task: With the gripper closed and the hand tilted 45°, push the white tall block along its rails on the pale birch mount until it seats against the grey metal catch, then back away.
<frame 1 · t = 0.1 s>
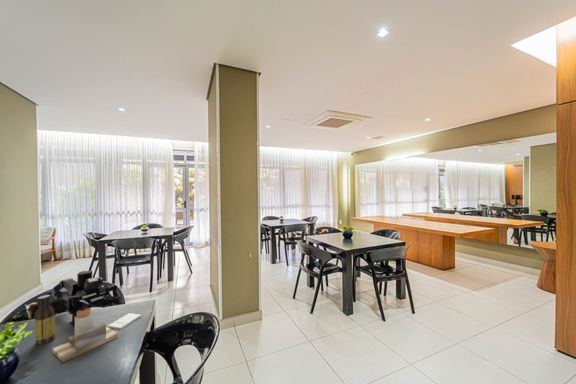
hand: (101, 301, 108), 17 cm above the table, tool horizontal, fingers open, 9 cm apart
white tall block: (83, 324, 105), point 8 cm above the table, slide at 3.8 cm
external hard drive: (124, 323, 121), on the table
mount: (86, 344, 103), on the table
sauce bottle: (45, 340, 105), on the table
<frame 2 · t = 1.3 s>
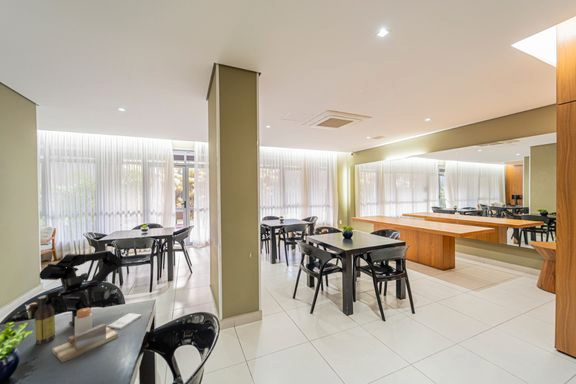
hand: (78, 307, 108), 14 cm above the table, tool tilted 45°, fingers open, 8 cm apart
nothing on the table moved.
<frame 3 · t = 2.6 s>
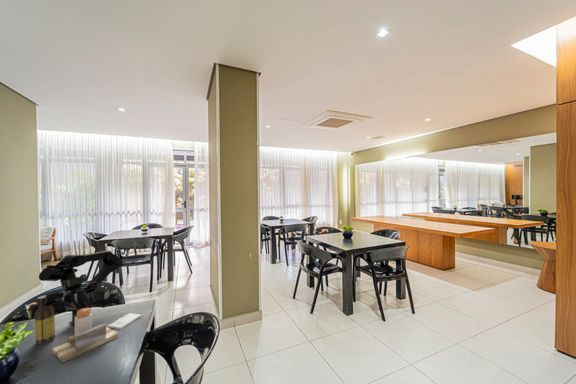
hand: (77, 308, 108), 13 cm above the table, tool tilted 45°, fingers closed
nothing on the table moved.
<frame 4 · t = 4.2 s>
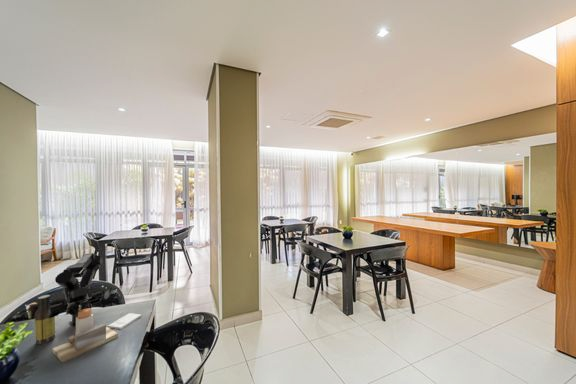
hand: (81, 320, 105), 9 cm above the table, tool tilted 45°, fingers closed, pressing on white tall block
white tall block: (84, 324, 104), point 8 cm above the table, slide at 2.5 cm, touching gripper
everything else where it was.
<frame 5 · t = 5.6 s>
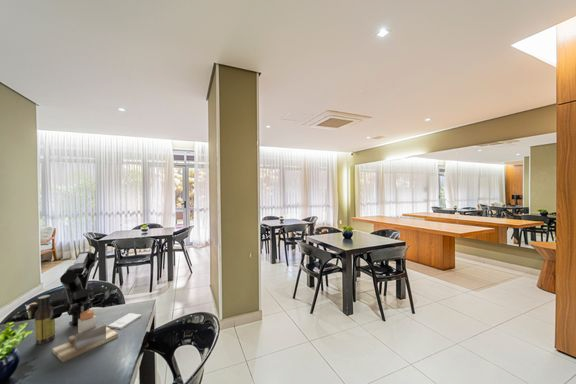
hand: (84, 321, 104), 9 cm above the table, tool tilted 45°, fingers closed
white tall block: (87, 326, 103), point 8 cm above the table, slide at 0.0 cm
everything else where it was.
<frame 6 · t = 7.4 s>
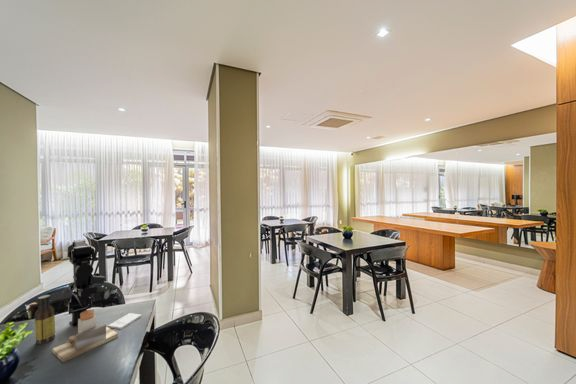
hand: (83, 306, 110), 13 cm above the table, tool pointing down, fingers closed
nothing on the table moved.
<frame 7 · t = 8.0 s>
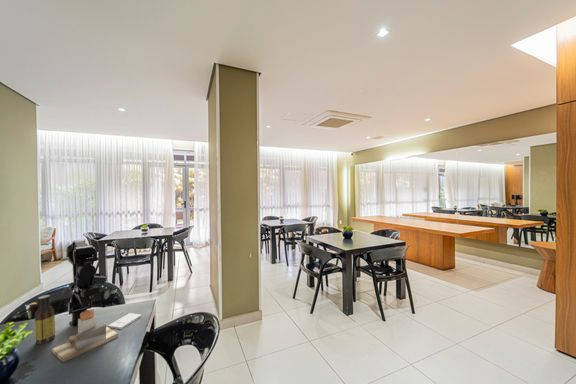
hand: (84, 306, 110), 13 cm above the table, tool pointing down, fingers closed
nothing on the table moved.
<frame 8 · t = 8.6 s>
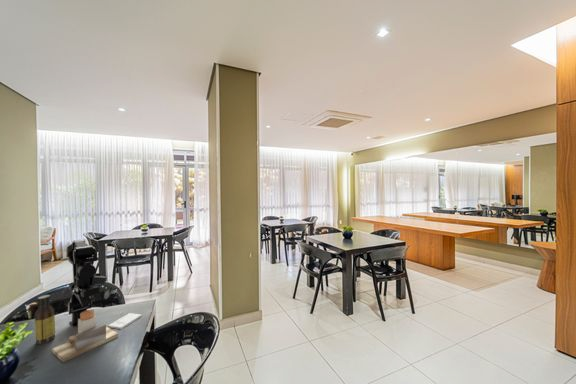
hand: (84, 306, 110), 13 cm above the table, tool pointing down, fingers closed
nothing on the table moved.
at the end: white tall block slide at 0.0 cm; external hard drive moved 0.9 cm from its start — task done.
